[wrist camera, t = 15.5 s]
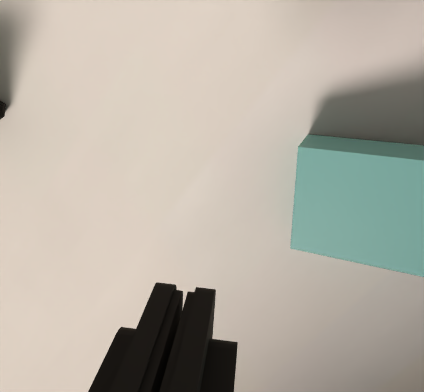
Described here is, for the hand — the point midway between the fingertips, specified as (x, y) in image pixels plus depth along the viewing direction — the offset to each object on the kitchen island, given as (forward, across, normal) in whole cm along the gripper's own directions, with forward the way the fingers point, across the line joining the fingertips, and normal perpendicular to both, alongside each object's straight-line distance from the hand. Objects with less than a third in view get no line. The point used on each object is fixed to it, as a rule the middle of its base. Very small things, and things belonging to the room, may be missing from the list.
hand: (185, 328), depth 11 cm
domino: (+9, -4, -1) cm, 9 cm away
